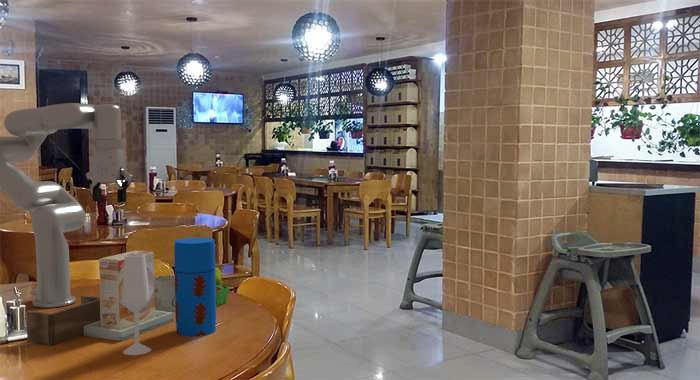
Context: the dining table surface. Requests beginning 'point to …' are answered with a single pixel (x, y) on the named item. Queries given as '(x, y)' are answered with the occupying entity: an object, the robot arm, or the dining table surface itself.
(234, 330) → the dining table surface
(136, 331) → the champagne flute
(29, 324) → the holder
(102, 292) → the coffeecake box
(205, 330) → the thermos
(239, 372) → the dining table surface
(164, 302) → the mug
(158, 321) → the tray
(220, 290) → the fruit basket
